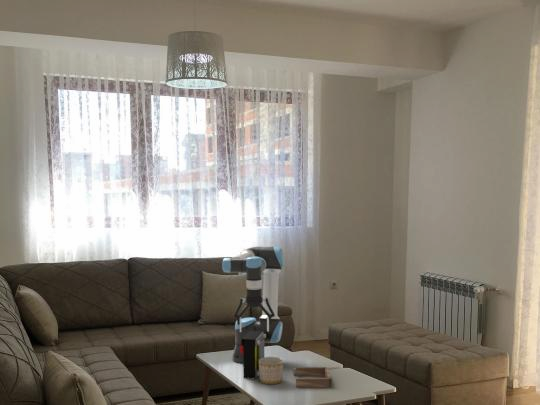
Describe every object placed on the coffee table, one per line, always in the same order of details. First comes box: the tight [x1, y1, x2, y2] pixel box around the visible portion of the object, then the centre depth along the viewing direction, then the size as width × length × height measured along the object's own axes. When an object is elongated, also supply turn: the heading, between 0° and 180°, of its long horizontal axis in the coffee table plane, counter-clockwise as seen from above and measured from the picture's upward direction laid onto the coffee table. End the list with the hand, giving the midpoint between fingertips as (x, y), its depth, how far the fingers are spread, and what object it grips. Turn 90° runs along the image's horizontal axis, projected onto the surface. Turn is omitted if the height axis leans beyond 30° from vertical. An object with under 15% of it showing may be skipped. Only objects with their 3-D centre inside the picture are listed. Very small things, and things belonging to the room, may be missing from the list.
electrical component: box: [240, 331, 266, 379], centre depth 286 cm, size 18×10×20 cm, turn 168°
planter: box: [258, 356, 285, 385], centre depth 273 cm, size 13×13×10 cm
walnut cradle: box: [293, 366, 332, 388], centre depth 273 cm, size 18×17×4 cm
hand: (254, 331), depth 269 cm, fingers open, 13 cm apart
